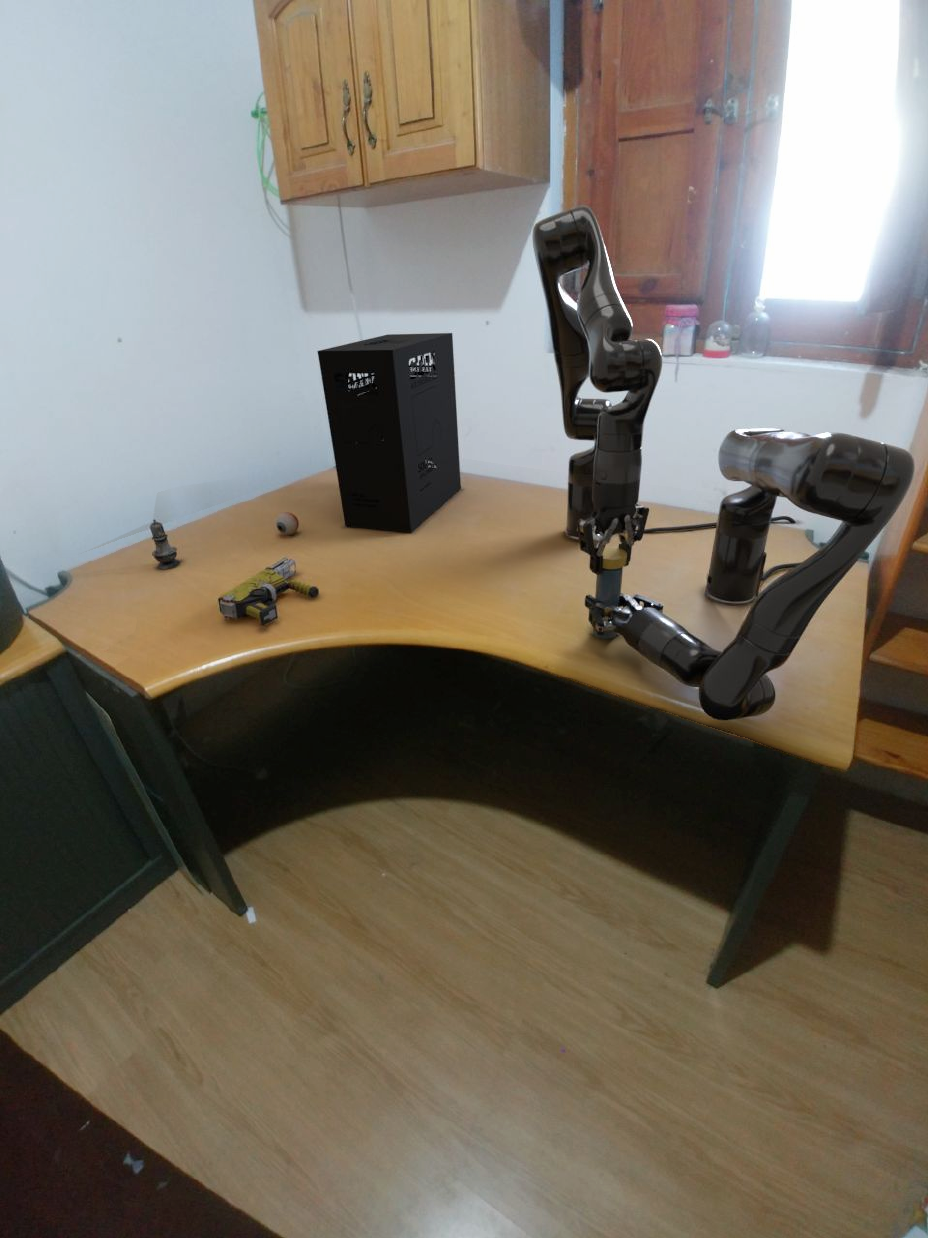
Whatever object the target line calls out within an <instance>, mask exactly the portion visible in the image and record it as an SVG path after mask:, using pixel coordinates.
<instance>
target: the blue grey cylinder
mask: <svg viewBox="0 0 928 1238" xmlns="http://www.w3.org/2000/svg"><path fill="white" fill-rule="evenodd" d="M623 571H624V567H622V568H618V569H605V568H602V574H600V575H596V577H595V578H596V579H595V595H594V598H596V599H597V600H598V601H600V602H601V603H602V604H605V605H607V606H609V605H613V606H616V607H618V608H621V607H620V595H621V593H622V584H623V583H622V581H623ZM602 613H603V614H605V611H603V610H602ZM612 613H613V612H612ZM592 628H593V627H592ZM592 633H593V635H594V636H595V637H597V638H598V639H602V640H610V639H614V638H616V637H617V635H618V633H615V632H614V631H613V630H609V631H604V635H598V634H597V633H596V631H595V630H594V628H593V629H592Z"/></svg>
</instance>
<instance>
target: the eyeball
mask: <svg viewBox="0 0 928 1238" xmlns="http://www.w3.org/2000/svg"><path fill="white" fill-rule="evenodd" d="M299 525H300V522H299V519H298V517H297V516H296V515H295V514H294V513H292V512H287V511H286V512H282V513H280V514H279V515H278V516H277V517H276V520H275V527H276V529H277V530H278V531H279V532H280V533H281V534H282V535H285V536H286V535H287V536H289V535H293V534H295V533H296V532H297V531H298V529H299Z"/></svg>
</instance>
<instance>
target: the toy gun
mask: <svg viewBox="0 0 928 1238" xmlns="http://www.w3.org/2000/svg"><path fill="white" fill-rule="evenodd" d="M296 563H297V562H296V560H295V559H294V558H288V557H283V558H282V559H281V560H278V561H277V562H276V563H273V564H272V565H271V566H270V567H269V566H266V567H265V568H264V569H263V570H261V571H259V572H258V573H255V575H253V576H251V577H250V578H248V579H246V580H245V581H243V582H241V583H240V584H238V585H236V586H234V587H233V588H232V589H230V590H228V591H227V592H225V593H224V594H222V595H220V596H219V597H217V603H218V609H219V612H220V614H221V615H222V616H224V619H226V620H227V619H229V620H230V621H231V620H233V619H235V620H241V619H246V618H249V617H253V618H255V619H257V620H258V621H260V626H262V627H265V626H266V625H268V624H270V623H272V622H274V621H275V620H277V619H278V618H279V617H278V608H277V605H276V604H275V602H276V601H277V596H278V595H280V594H282V593H285V592H286V591H288V590H292V591H294V592H297V593H299V594H303V595H305V596H308V597H310V598H311V599H314V598H316V597H318V596H319V595H320V590H319V588H318V586H316V585H315V586H314V585H310V584H308V583H307V584H306V583H305V582H302V581H298V580H297V579H291V580H290V581H289V582H288V581H287V579H288V578H289V579H290V577H292V576H293V575H295V574H296V573H297V566H296V565H297V564H296ZM293 566H294V570H292V569H291V568H292V567H293Z"/></svg>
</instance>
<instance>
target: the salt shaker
mask: <svg viewBox="0 0 928 1238" xmlns="http://www.w3.org/2000/svg"><path fill="white" fill-rule="evenodd" d="M149 529H150V532H151V536H152V537H151V540H152V541H153V542H154V546H155V550H153V551H152V552H151V556H152V557H153V559H155V561H157V562H158V564H157V567H156V568H158V569H160V570H167V569H168V570H169V569H172V568H175V567H177V566H178V565H180V563H181V562H180V560H179V559H176V557H177V556H178V554H177V553H178V552H177V551H178V548H177V547H175V546H171V544H170V543H169V540H168V534H166V531H165V528H164V525H163V523H161V522H158V521H157V520H156V519H153V520H152V523H150V525H149Z"/></svg>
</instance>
